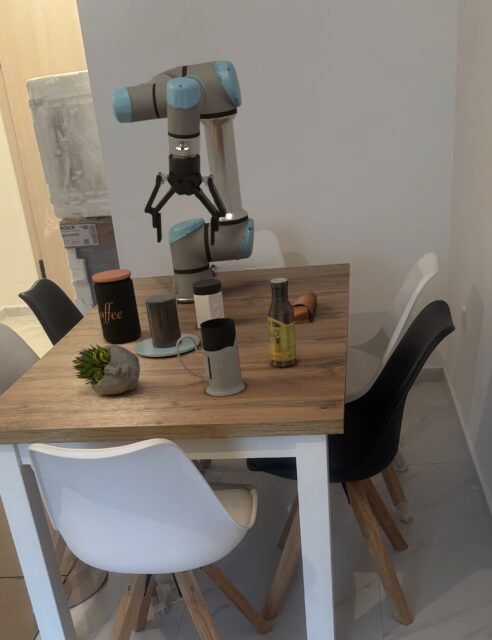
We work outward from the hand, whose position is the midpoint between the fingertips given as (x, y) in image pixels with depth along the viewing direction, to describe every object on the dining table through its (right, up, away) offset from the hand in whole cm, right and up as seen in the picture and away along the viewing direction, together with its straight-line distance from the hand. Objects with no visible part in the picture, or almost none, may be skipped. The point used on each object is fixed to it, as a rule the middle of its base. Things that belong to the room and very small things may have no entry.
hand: (186, 242), depth 195 cm
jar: (+6, -16, +23) cm, 29 cm away
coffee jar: (-19, -20, +22) cm, 35 cm away
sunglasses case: (+31, -13, +23) cm, 41 cm away
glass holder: (+7, -42, -23) cm, 48 cm away
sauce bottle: (+24, -34, -12) cm, 43 cm away
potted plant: (-17, -41, -16) cm, 47 cm away
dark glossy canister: (-5, -24, +8) cm, 26 cm away
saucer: (-5, -25, +9) cm, 27 cm away
